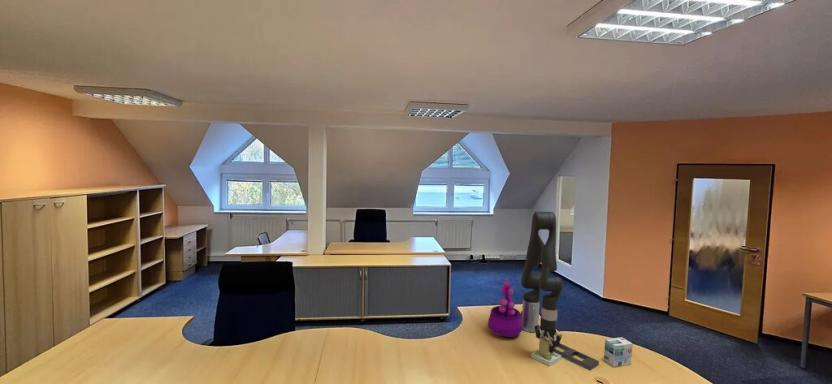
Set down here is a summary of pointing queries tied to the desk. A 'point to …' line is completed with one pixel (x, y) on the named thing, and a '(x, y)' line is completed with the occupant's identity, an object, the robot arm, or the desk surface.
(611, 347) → the light bulb box
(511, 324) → the decorative plant
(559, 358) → the parts tray
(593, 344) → the desk surface
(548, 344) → the tan rectangular block
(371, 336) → the desk surface
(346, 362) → the desk surface
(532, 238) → the robot arm
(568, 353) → the rail
